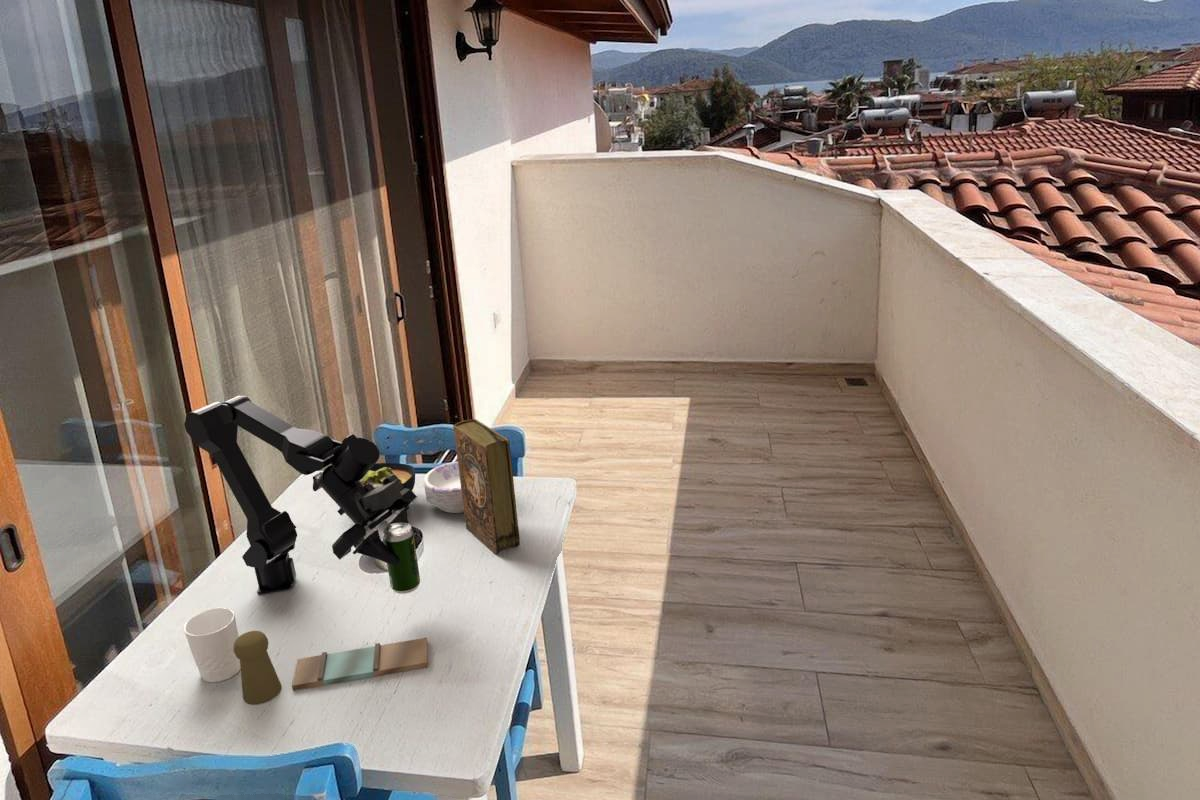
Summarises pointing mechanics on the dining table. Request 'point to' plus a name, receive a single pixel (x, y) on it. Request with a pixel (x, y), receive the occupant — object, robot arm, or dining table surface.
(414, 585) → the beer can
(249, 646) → the cork
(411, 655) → the board
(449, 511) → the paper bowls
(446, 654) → the dining table surface
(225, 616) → the white cup
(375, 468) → the bowl
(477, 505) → the book
